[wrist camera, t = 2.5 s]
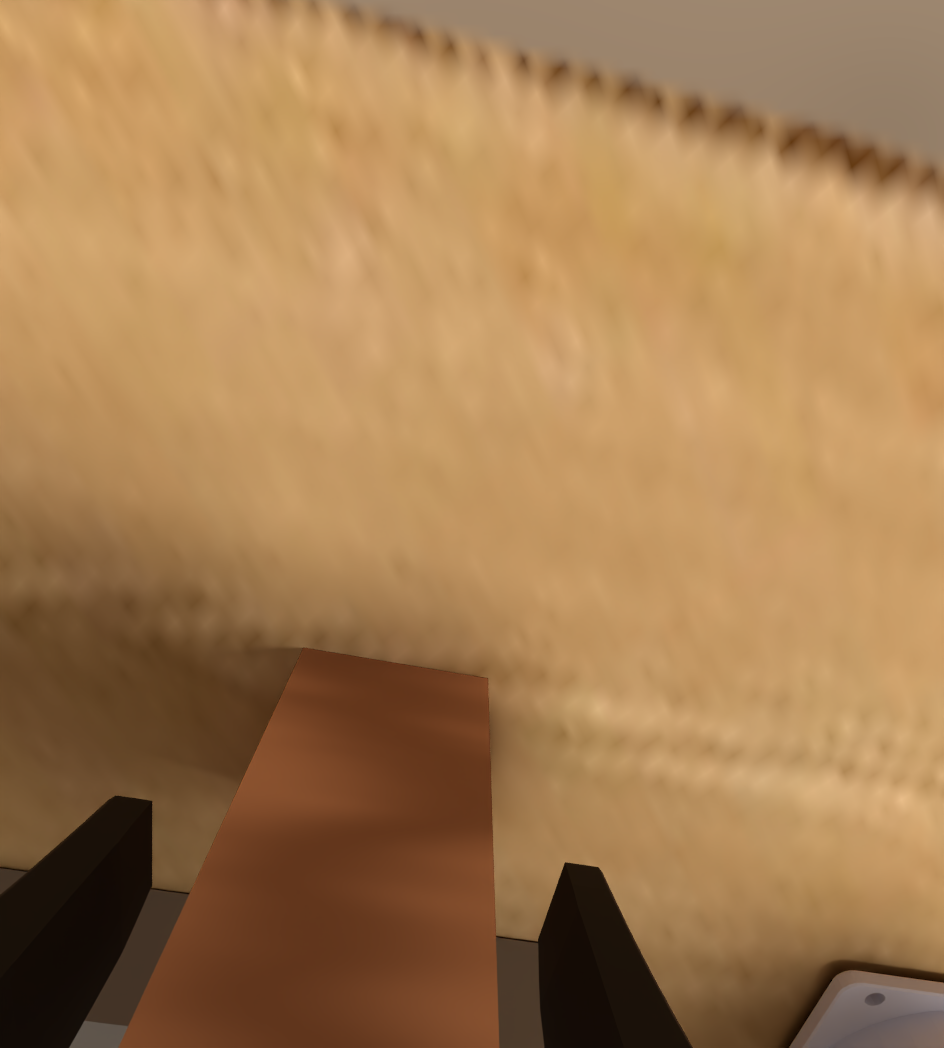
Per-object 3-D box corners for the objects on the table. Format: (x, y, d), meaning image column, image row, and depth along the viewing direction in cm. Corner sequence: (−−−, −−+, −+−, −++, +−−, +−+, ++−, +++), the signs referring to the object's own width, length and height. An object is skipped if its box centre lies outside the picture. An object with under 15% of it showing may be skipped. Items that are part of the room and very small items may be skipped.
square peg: (487, 678, 13) (503, 1180, 6) (454, 815, 15) (432, 1353, 7) (303, 647, 13) (78, 1133, 6) (287, 789, 15) (92, 1322, 7)
